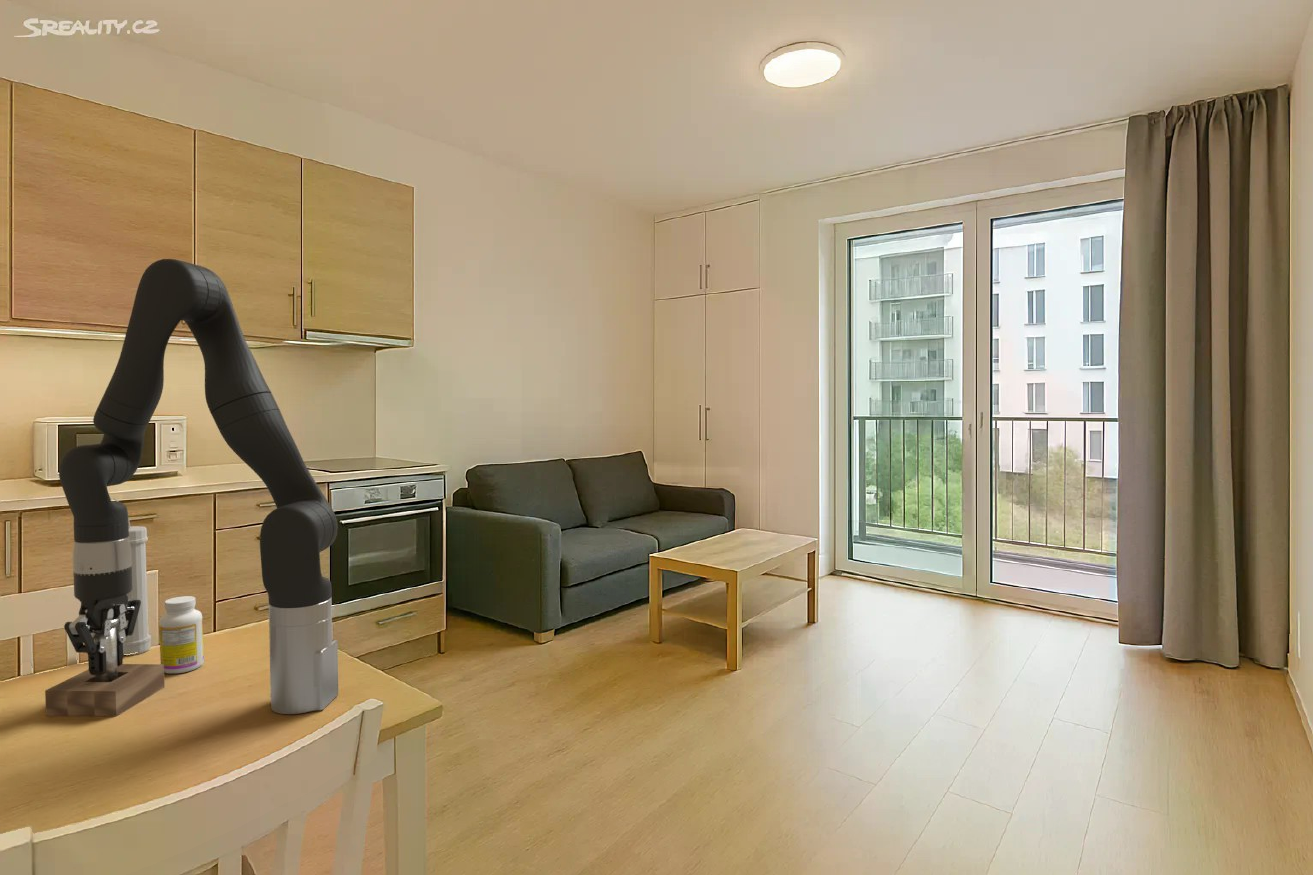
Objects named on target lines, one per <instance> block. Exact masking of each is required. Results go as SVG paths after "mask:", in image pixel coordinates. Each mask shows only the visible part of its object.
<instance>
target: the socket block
mask: <svg viewBox="0 0 1313 875" xmlns="http://www.w3.org/2000/svg"><path fill="white" fill-rule="evenodd" d="M164 688H165V673H164V664H161V663H160V664H158V663H157V664H156V663H155V664H154V663H153V664H152V663H151V664H150V663H149V664H148V663H147V664H144V663H142V664H141V663H139V664H138V663H123V664H122V665H120V666H118V678H117V679H115V680H114V681H112V682H95V675H91V674H90V672H89V668H88V669H86V670H84V671H82V672H80V673H78V674H76V675H74V676H71V677H69V678H68V679H66V680H64V681H62V682H60V683H58V684H55V685H53V686H51V687H49V688H48V689H45V690H44V693H45V694H44V695H45V714H46V716H56V717H57V716H63V717H64V716H66V717H67V716H68V717H71V716H73V717H74V716H75V717H76V716H77V717H78V716H79V717H80V716H82V717H118V716H119V715H120V714H122V713H124V712H126V711H128V710H130V709H131V708H133V707H134V706H135V705H138V704H139V703H141V702H143V701H144V700H145V699H147V698H149V697H151V696H152V695H154V694H155V693H157V692H159V691H160V690H162V689H164Z"/></svg>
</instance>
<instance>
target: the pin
mask: <svg viewBox="0 0 1313 875" xmlns="http://www.w3.org/2000/svg"><path fill="white" fill-rule="evenodd" d="M117 625H119V618H115V619H112V620H111V628H110V635H109V636H108V637H107V638H106V648H105V651H106V667H107V671H106V673H104V674H103V675H95V682H112V681H114V680H115V679H117V678H118V664H117V635H116V626H117ZM101 631H102V630H93V632H101ZM94 642H95V644H96V645H97V644H98V639H97V638H94Z"/></svg>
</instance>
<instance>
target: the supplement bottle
mask: <svg viewBox="0 0 1313 875" xmlns="http://www.w3.org/2000/svg"><path fill="white" fill-rule="evenodd" d="M196 603H197V602H196V597H195V596H191V595H189V596H188V595H186V596H177V597H172V598H168V599H166V600H165V601H164V609H165V611H166V613H164V614H163V615H162V616H161V617H160V618H159V621H158V630H159V631H158V633H159V650H160V651H159V653H160V664H164V674H169V675H170V674H171V675H174V674H183V673H188V672H192V671H194V670H196V669H198V668H200V667H202V666H203V664H204V662H205V655H204V654H205V652H204V651H205V650H204V626H203V615H202V612H201V611H200V610H198V609H195V606H196V605H197V604H196Z"/></svg>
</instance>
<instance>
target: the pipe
mask: <svg viewBox="0 0 1313 875" xmlns="http://www.w3.org/2000/svg"><path fill="white" fill-rule="evenodd" d="M113 501H117V502H120V501H119V500H118V499H116V498H115V497H114V498H113ZM128 524H129V541H130V546H131V558H132V590H131V592H129V593H128V594H127V596H128V599H132V600H140V601H141V605H140V609H139V612H138V616H137V620H136V624H135V628H134V632H133V634H132V635H131V636H127V637H126V640H125V642H124V643H123V655H124V654H130V653H135V652H138V653H136V654H130V655H129V656H136V655H141V654H143V653H146V652H148V651H150V649H151V644H152V642H151V641H152V640H151V639H152V635H151V634H149V611H148V609H149V608H148V582H147V581H148V579H147V554H146V553H147V551H146V550H147V549H146V548H147V547H146V542H148V541H149V537H148V531H147V527H146V526H141V525H140V526H137V525H135V526H133V525H132V526H131V522H130V518H129V517H128ZM126 624H127V625H128V621H126ZM126 628H127V627H126ZM127 657H128V655H127Z"/></svg>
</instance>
